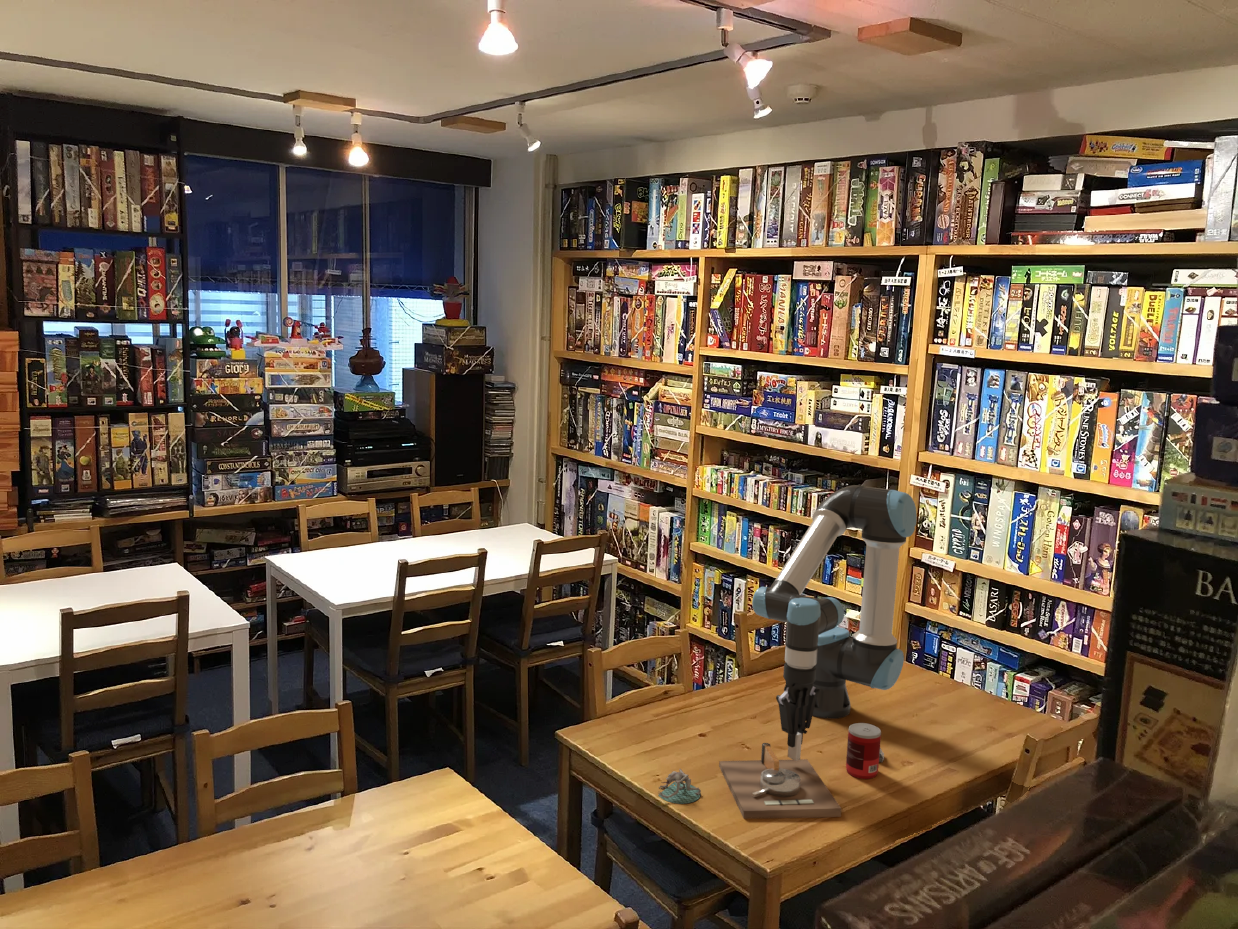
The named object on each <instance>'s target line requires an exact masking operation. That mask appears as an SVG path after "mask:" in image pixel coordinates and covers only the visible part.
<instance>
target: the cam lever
mask: <svg viewBox="0 0 1238 929" xmlns="http://www.w3.org/2000/svg"><path fill="white" fill-rule="evenodd" d="M760 758H761V759H760V760H761V762H762V763H764V765H765V766H766V768H767V769H766V770H764V771H763V772H762V773H761V779H760V787H761V789H762V790H760V791H757V792H754V793H752V795H753V796H754V797H755V796H758V795H761V794H763V793H768V794H770V795H774V796H779V797H790V796H794V795H796V794H798V793H799V791H800V780H801V779H800V776H799V775H798V774H796V773H795V772H793V771H790V770H787V769H782V768H779V760H780V759H778V757H777V756H776V754H775V752H774V751H773V748H772V747H771V743H768V742H763V743H762V744H761V757H760Z"/></svg>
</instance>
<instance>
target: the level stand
mask: <svg viewBox="0 0 1238 929" xmlns="http://www.w3.org/2000/svg"><path fill="white" fill-rule="evenodd" d="M778 760H779V768H782V769H787V770H790V771H793V772H795V773H796V774H798V775H799V776H800V779H801V780H800V791H799V793H798V794H796V795H794V796H790V797H779V796H774V795H770V794H768V793H763V794H761V795H758V796H755V797H754V796H753V795H752V793H754V792H757V791H760V790H762V789H761V787H760V779H761V773H762V772H763V771H764V770H766V769H767V768H766V766H765V765H764V763H762V762H761V759H759V760H758V759H757V760H756V759H755V760H754V759H753V760H720V761H718V762H719V763H718V764H719V765H718V767H719V769H720V772H721V774H722V776H723V778H724V780H725V782H726V785H727V786H728V788H729V791H730V792H731V794H732V798H733V799H734V801H735V803H736V804H735V805H737V808H738V810H739V812H740V814H741V816H742V819H746V820H747V819H801V818H803V819H810V818H812V819H813V818H841V817H842V807H841V806H840V804H839V803H838V801H837V800H836V798H835V797H834V796H833V794H832V793H831V791H830V790H829V788H828V787H827V786H826V784H825V783H824V781H823V780H822V778H821V777H820V776H819V774H818V772H817V771H816V770H815V768H814V767H813V765H812V764H811V763H810V761H809V760H808V759H807V758H806V759H805V758H804V759H803V758H802V759H801V758H800V760H797V761H795V760H793V759H778Z"/></svg>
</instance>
